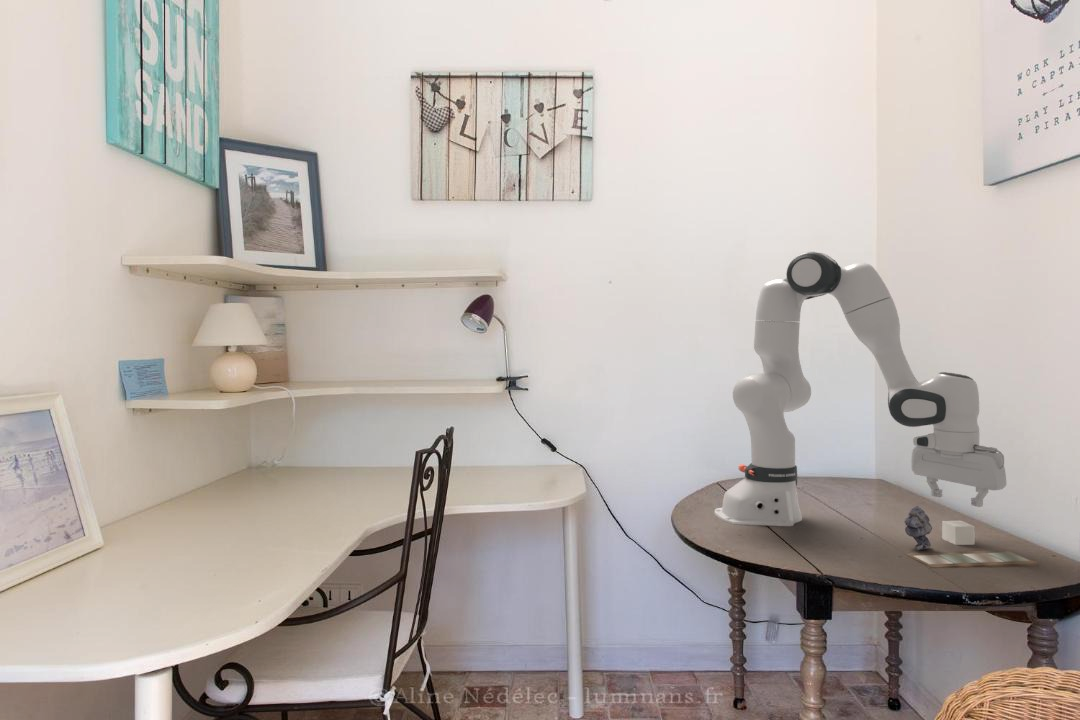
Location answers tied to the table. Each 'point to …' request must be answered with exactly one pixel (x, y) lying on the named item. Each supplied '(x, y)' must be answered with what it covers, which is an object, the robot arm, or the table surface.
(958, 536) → the cream white cube
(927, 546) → the seashell
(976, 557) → the brown rectangular frame
